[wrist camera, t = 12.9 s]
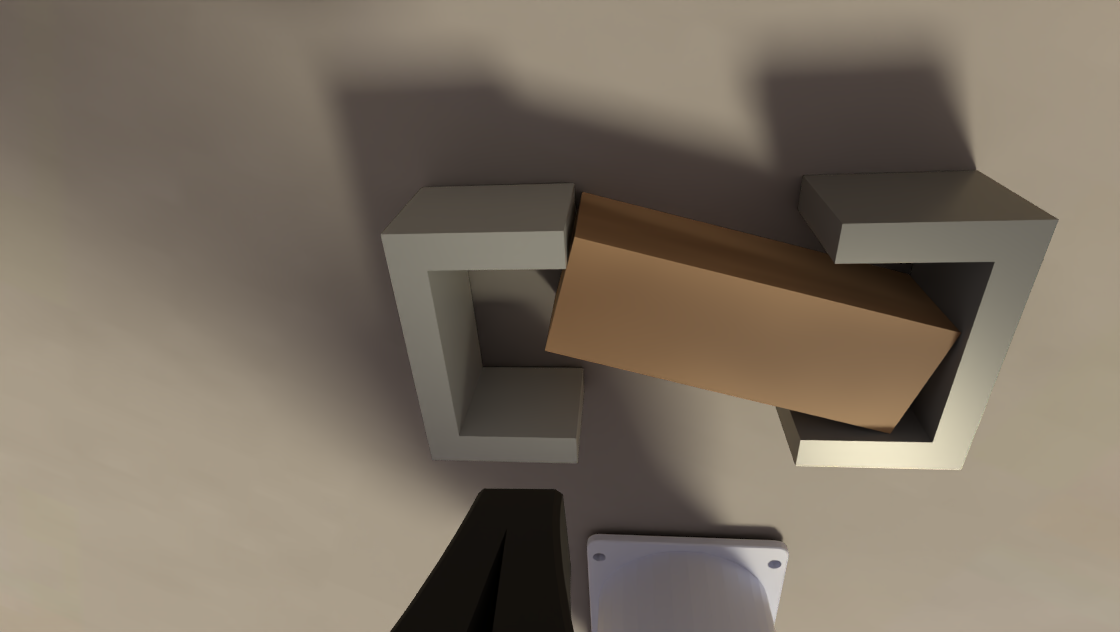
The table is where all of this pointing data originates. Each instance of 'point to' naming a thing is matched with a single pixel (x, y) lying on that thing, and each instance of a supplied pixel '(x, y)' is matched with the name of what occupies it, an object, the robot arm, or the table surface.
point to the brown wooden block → (744, 315)
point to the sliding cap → (450, 327)
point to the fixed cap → (951, 283)
